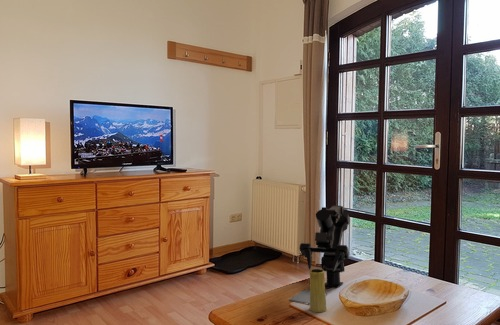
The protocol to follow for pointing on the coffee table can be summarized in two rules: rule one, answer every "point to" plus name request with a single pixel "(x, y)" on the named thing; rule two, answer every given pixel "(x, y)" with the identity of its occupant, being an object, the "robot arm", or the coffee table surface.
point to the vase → (317, 291)
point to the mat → (302, 297)
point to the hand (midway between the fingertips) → (321, 269)
